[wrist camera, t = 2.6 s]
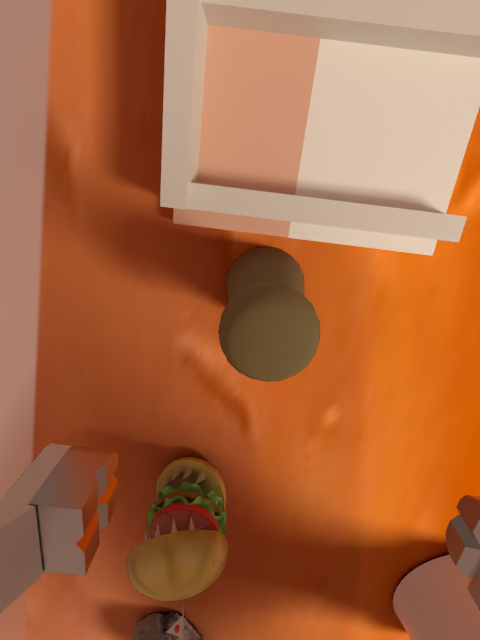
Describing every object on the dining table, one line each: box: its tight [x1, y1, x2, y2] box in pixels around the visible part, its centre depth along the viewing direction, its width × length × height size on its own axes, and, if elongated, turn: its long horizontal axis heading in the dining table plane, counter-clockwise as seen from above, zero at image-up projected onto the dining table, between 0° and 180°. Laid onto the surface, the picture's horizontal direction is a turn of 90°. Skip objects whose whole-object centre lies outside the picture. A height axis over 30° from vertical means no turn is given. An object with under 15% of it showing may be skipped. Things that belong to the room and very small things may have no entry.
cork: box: [218, 246, 320, 382], centre depth 21 cm, size 6×6×11 cm
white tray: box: [160, 0, 480, 255], centre depth 20 cm, size 18×14×5 cm
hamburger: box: [127, 457, 228, 639], centre depth 28 cm, size 8×7×12 cm
